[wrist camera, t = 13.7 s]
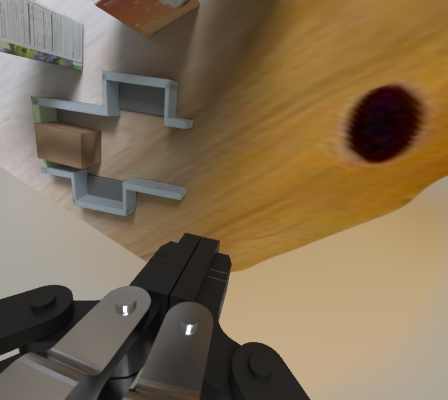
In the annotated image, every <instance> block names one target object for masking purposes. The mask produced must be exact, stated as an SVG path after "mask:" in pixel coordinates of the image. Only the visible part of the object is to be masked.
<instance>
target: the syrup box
mask: <svg viewBox="0 0 448 400" xmlns="http://www.w3.org/2000/svg"><path fill="white" fill-rule="evenodd" d="M0 51H1V52H5V53H9V54H12V55H17V56H21V57H25V58H30V59H34V60H39V61H43V62H47V63H51V64H56V65H61V66H65V67H69V68H73V69H78V70H82V56H83V24H82V23H79V22H77V21H75V20H73V19H71V18H69V17H67V16H65V15H63V14H61V13H59V12H56V11H54V10H52V9H50V8H48V7H46V6H44V5H42V4H40V3H38V2H35V1H33V0H0Z"/></svg>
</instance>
